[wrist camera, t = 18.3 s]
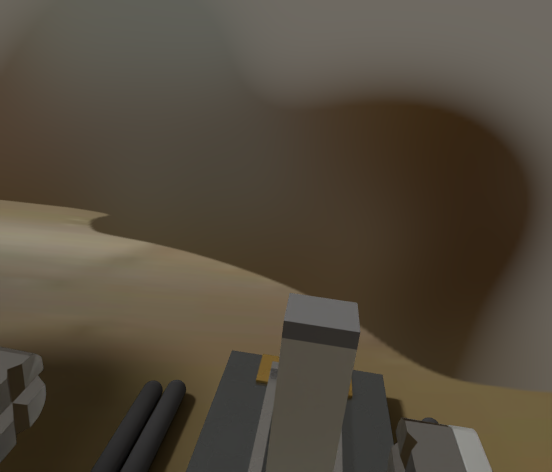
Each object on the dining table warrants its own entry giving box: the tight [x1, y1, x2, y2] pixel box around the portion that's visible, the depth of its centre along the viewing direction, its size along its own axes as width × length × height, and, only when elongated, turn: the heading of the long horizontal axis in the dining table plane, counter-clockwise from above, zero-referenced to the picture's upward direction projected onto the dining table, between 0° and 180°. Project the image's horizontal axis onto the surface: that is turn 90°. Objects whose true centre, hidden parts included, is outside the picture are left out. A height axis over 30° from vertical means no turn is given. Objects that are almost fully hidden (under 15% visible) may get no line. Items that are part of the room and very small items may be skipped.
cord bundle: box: [91, 380, 186, 472], centre depth 27 cm, size 12×3×1 cm, turn 173°
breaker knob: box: [266, 293, 360, 472], centre depth 20 cm, size 2×3×12 cm
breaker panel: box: [186, 350, 394, 472], centre depth 26 cm, size 18×12×4 cm, turn 173°
